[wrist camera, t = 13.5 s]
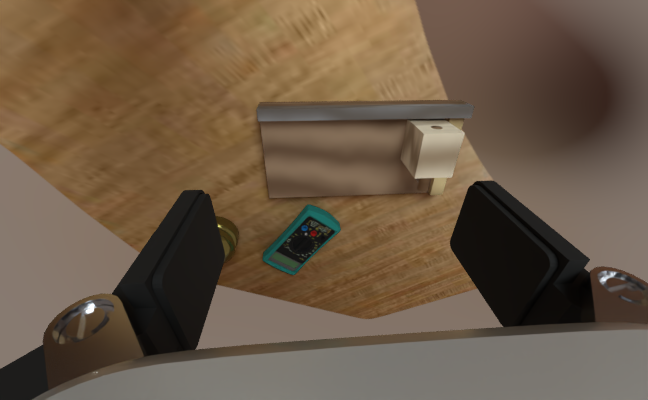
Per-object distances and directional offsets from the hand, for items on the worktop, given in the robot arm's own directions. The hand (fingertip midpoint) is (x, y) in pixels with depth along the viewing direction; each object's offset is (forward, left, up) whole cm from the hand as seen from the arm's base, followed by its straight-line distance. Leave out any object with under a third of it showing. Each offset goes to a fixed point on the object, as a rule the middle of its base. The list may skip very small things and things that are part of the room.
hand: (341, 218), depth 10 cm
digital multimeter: (+27, -2, -31) cm, 41 cm away
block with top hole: (+9, +15, -28) cm, 34 cm away
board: (+10, +7, -30) cm, 33 cm away
